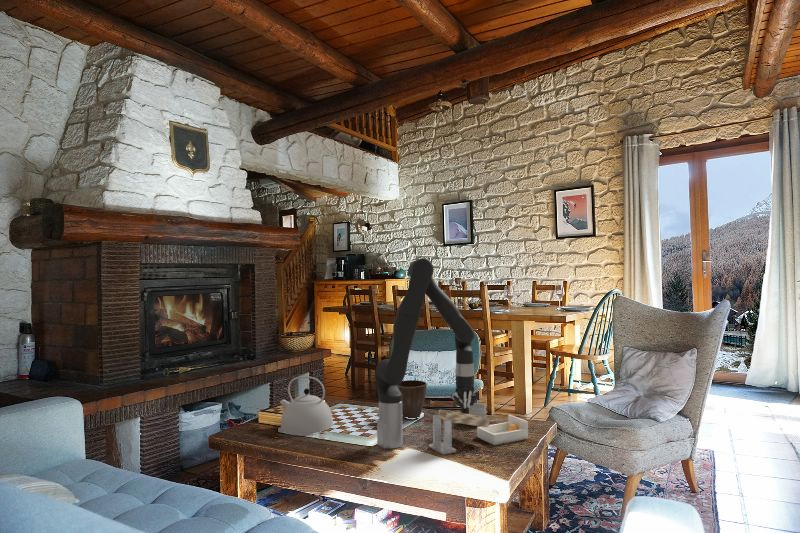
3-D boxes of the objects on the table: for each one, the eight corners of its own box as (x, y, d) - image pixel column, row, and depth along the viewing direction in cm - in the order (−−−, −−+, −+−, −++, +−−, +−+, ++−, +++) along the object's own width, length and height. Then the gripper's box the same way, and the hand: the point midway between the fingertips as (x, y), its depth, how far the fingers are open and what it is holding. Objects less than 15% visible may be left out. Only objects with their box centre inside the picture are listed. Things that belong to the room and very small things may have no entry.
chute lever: (445, 421, 195) (447, 413, 196) (426, 411, 209) (427, 404, 209) (488, 427, 204) (489, 419, 204) (466, 418, 217) (467, 411, 218)
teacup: (487, 426, 226) (487, 408, 226) (462, 427, 227) (462, 408, 227) (483, 418, 240) (483, 400, 240) (459, 418, 240) (459, 400, 241)
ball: (516, 423, 212) (521, 430, 213) (510, 420, 215) (515, 427, 216) (510, 430, 210) (515, 437, 211) (504, 427, 214) (509, 434, 215)
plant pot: (412, 424, 231) (412, 388, 231) (388, 418, 241) (388, 383, 241) (433, 417, 242) (433, 382, 243) (409, 411, 252) (409, 378, 252)
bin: (494, 445, 202) (494, 427, 202) (477, 437, 212) (476, 419, 212) (528, 438, 209) (528, 421, 210) (509, 431, 220) (509, 414, 220)
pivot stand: (442, 454, 192) (442, 422, 192) (429, 446, 201) (428, 415, 201) (456, 452, 195) (455, 419, 195) (442, 444, 204) (441, 413, 204)
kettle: (265, 432, 222) (265, 379, 222) (292, 418, 244) (291, 370, 244) (318, 437, 215) (318, 382, 215) (341, 422, 236) (340, 372, 237)
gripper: (456, 377, 206) (456, 421, 206) (483, 374, 212) (484, 416, 212) (446, 374, 213) (446, 416, 212) (472, 371, 218) (473, 412, 218)
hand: (465, 416), depth 212 cm, fingers closed
